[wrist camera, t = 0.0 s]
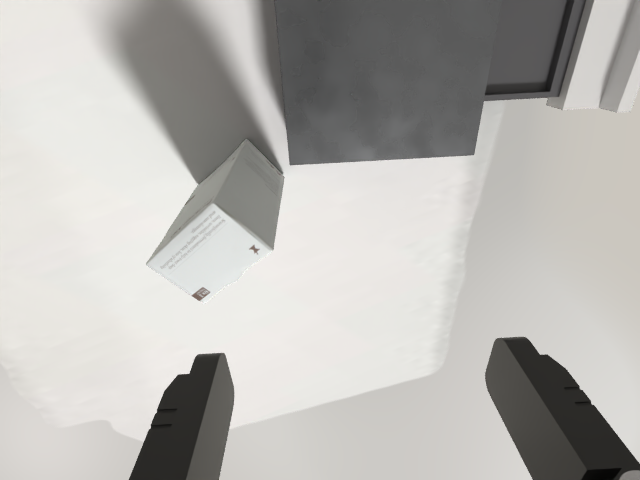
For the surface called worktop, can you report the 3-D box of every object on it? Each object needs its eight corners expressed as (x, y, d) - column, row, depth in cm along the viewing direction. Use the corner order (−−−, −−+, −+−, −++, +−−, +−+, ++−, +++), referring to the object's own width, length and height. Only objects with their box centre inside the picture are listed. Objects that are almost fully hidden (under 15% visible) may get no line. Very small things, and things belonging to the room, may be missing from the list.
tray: (431, -89, 27) (454, -111, 23) (658, -101, 27) (721, -125, 23) (414, 112, 35) (428, 122, 31) (591, 102, 35) (630, 111, 31)
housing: (269, -124, 26) (258, -172, 20) (482, -135, 26) (535, -186, 20) (292, 143, 36) (289, 165, 30) (446, 135, 36) (473, 155, 30)
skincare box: (247, 136, 36) (213, 193, 23) (288, 178, 38) (278, 250, 25) (194, 188, 38) (138, 264, 26) (236, 224, 41) (203, 310, 28)
